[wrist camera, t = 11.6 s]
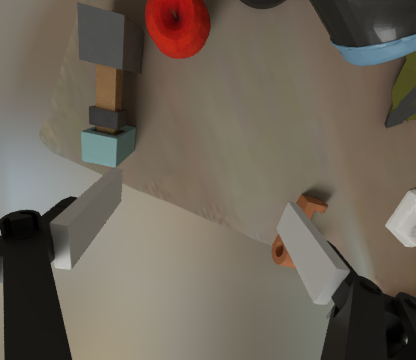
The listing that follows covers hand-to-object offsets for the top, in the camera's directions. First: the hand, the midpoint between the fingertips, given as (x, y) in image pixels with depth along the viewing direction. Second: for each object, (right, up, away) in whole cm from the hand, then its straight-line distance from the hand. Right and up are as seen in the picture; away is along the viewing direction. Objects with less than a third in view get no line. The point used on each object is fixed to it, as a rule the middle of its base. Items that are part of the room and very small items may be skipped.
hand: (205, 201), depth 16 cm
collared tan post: (-18, +17, +23) cm, 33 cm away
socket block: (-19, +12, +30) cm, 38 cm away
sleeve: (-16, +27, +23) cm, 39 cm away
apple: (-5, +30, +23) cm, 37 cm away
